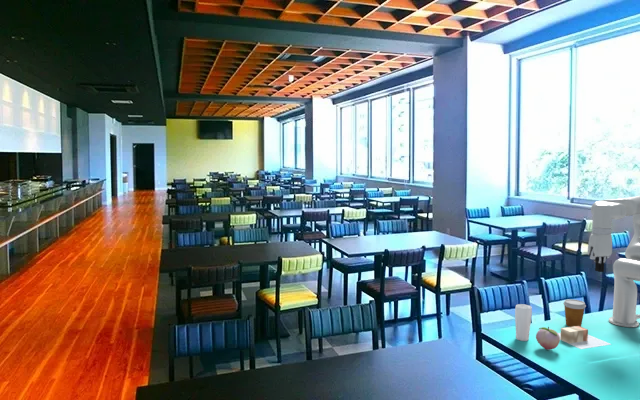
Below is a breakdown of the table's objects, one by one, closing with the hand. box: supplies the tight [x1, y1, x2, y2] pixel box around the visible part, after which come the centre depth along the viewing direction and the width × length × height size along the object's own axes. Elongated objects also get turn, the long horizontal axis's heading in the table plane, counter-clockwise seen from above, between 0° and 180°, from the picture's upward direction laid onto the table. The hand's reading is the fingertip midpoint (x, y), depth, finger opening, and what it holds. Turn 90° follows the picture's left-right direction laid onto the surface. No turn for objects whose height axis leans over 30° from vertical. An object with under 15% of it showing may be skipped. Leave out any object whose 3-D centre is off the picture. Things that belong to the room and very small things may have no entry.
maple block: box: [560, 326, 589, 344], centre depth 221 cm, size 5×5×10 cm
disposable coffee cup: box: [563, 298, 587, 327], centre depth 239 cm, size 10×10×12 cm
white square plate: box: [557, 332, 612, 350], centre depth 222 cm, size 17×18×1 cm
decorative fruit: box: [535, 326, 561, 351], centre depth 211 cm, size 9×8×10 cm
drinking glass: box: [514, 303, 533, 342], centre depth 222 cm, size 7×7×15 cm
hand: (599, 271), depth 229 cm, fingers closed
